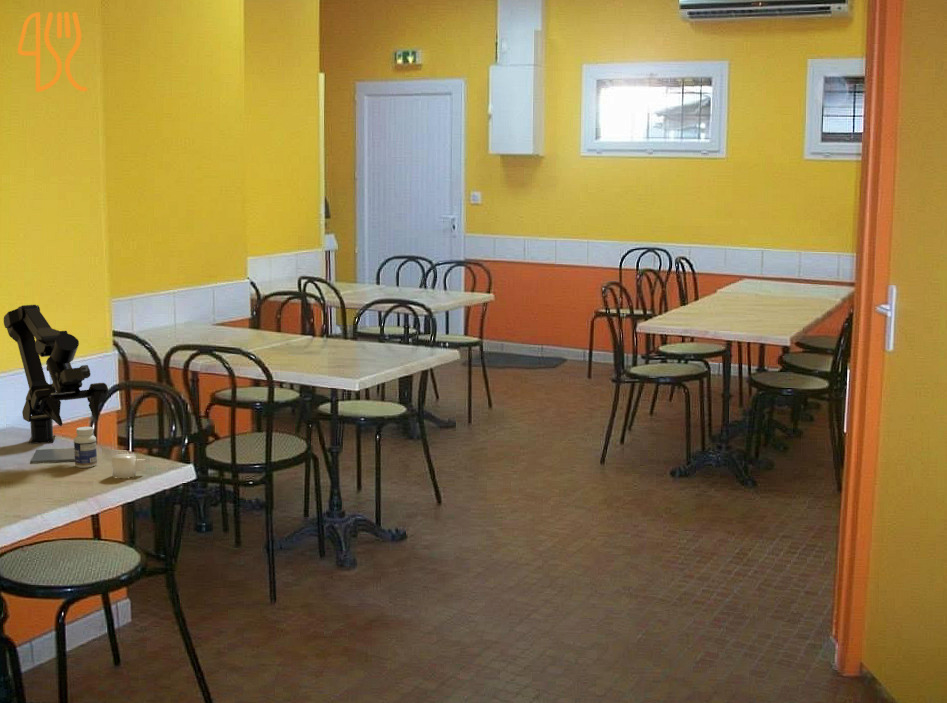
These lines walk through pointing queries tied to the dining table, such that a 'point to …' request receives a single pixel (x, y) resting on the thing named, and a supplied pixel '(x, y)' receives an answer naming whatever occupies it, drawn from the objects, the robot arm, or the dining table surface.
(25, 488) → the dining table surface
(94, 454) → the pill bottle
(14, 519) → the dining table surface
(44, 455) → the slate coaster
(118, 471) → the espresso cup
